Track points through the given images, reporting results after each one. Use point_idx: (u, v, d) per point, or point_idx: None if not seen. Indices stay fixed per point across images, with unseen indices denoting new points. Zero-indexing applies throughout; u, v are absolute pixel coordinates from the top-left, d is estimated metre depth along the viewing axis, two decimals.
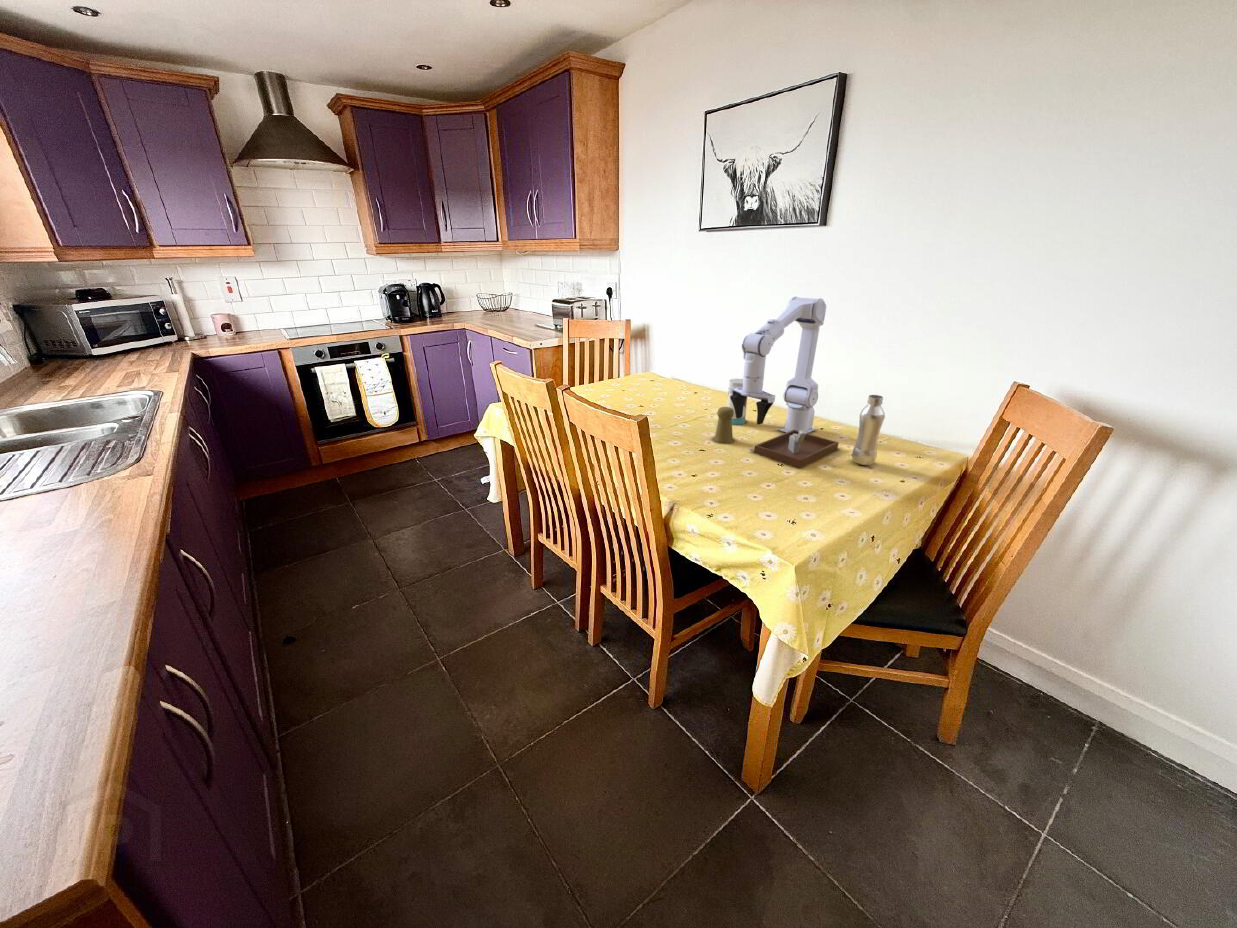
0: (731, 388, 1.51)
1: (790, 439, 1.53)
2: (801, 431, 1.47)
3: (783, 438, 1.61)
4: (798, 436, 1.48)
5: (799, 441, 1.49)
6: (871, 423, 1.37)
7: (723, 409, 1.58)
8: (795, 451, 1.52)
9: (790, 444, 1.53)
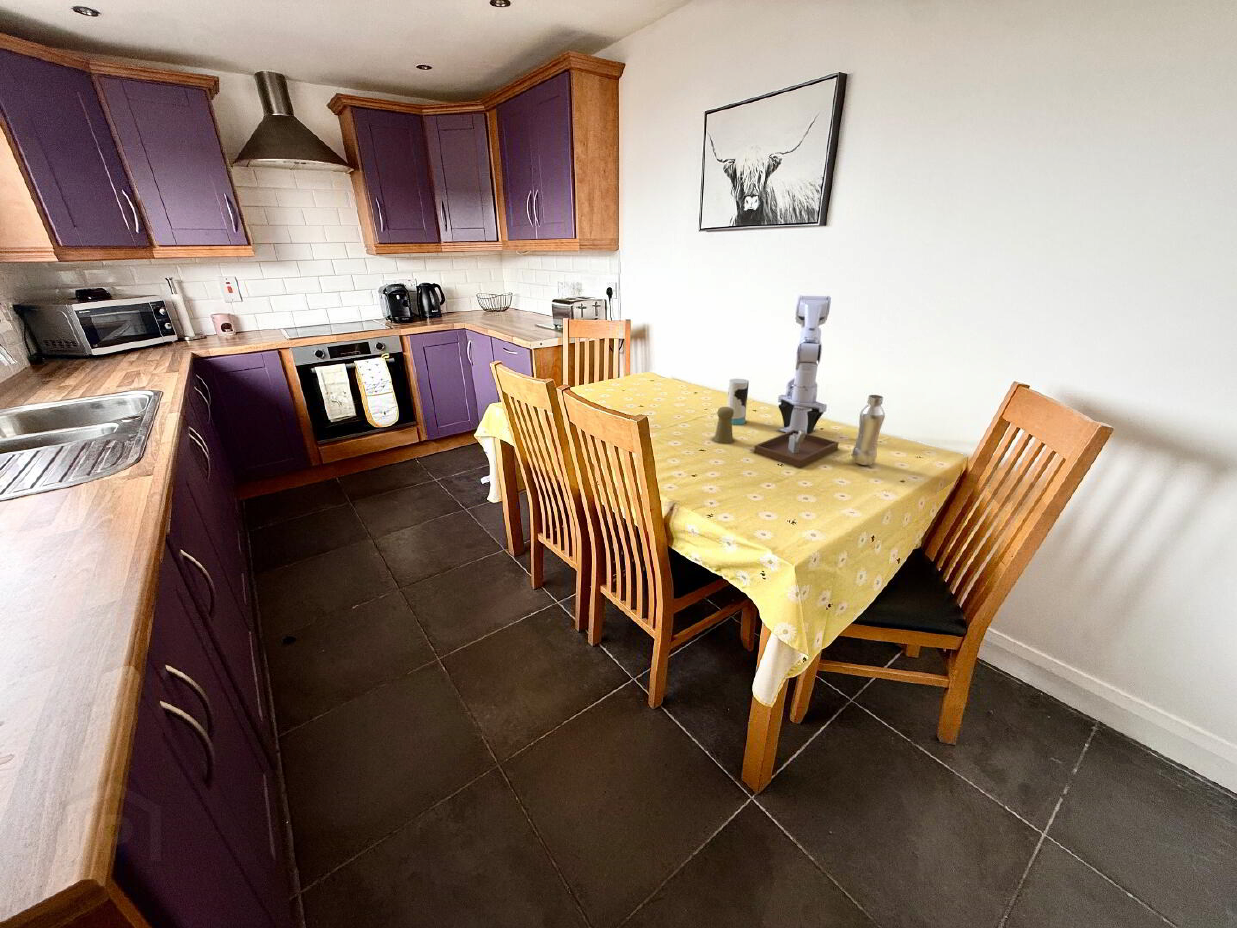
0: (779, 397, 1.50)
1: (790, 439, 1.53)
2: (801, 431, 1.47)
3: (783, 438, 1.61)
4: (798, 436, 1.48)
5: (799, 441, 1.49)
6: (871, 423, 1.37)
7: (723, 409, 1.58)
8: (795, 451, 1.52)
9: (790, 444, 1.53)
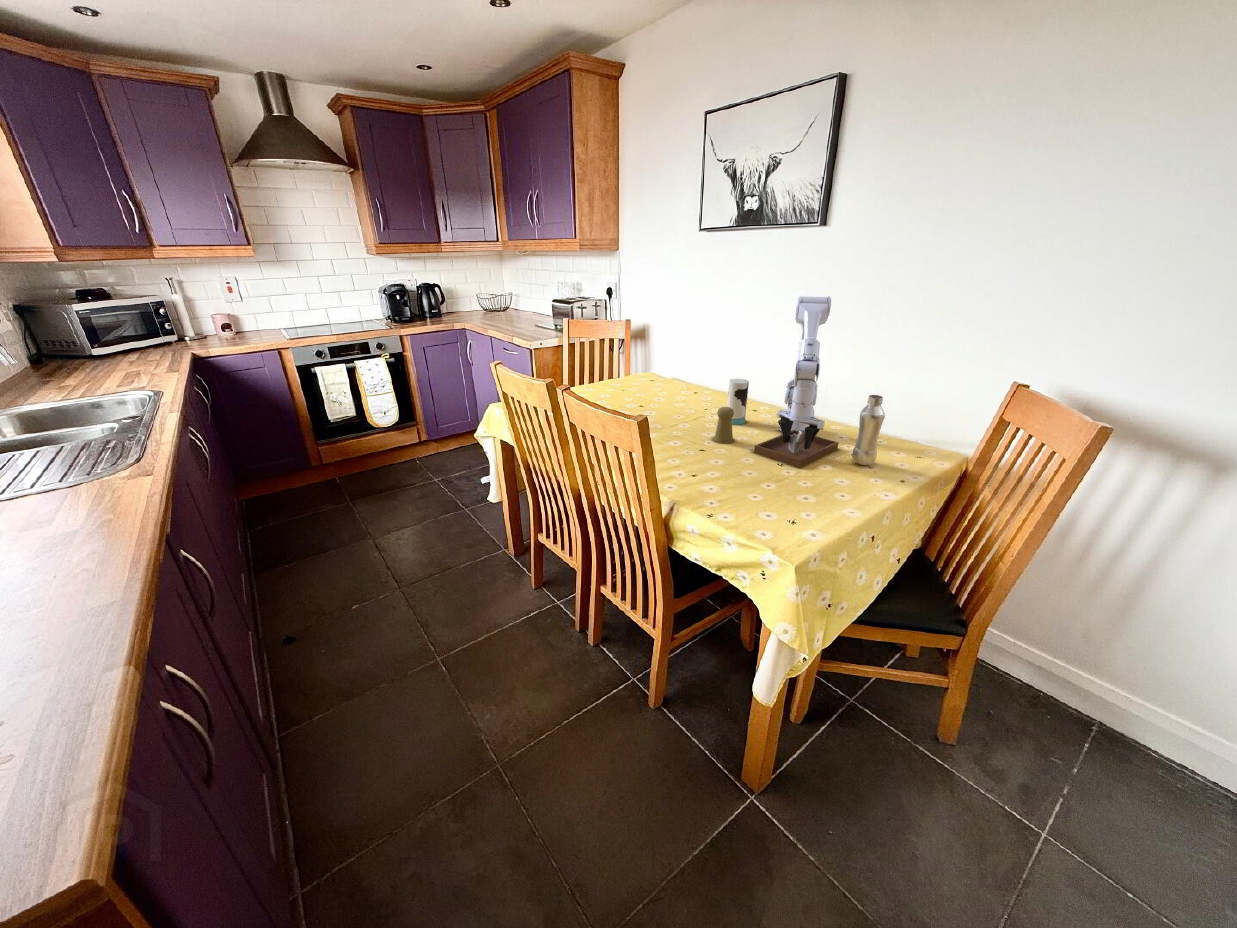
0: (778, 412, 1.52)
1: (790, 439, 1.53)
2: (801, 431, 1.47)
3: None
4: (798, 436, 1.48)
5: (799, 441, 1.49)
6: (871, 423, 1.37)
7: (723, 409, 1.58)
8: (795, 451, 1.52)
9: (790, 444, 1.53)
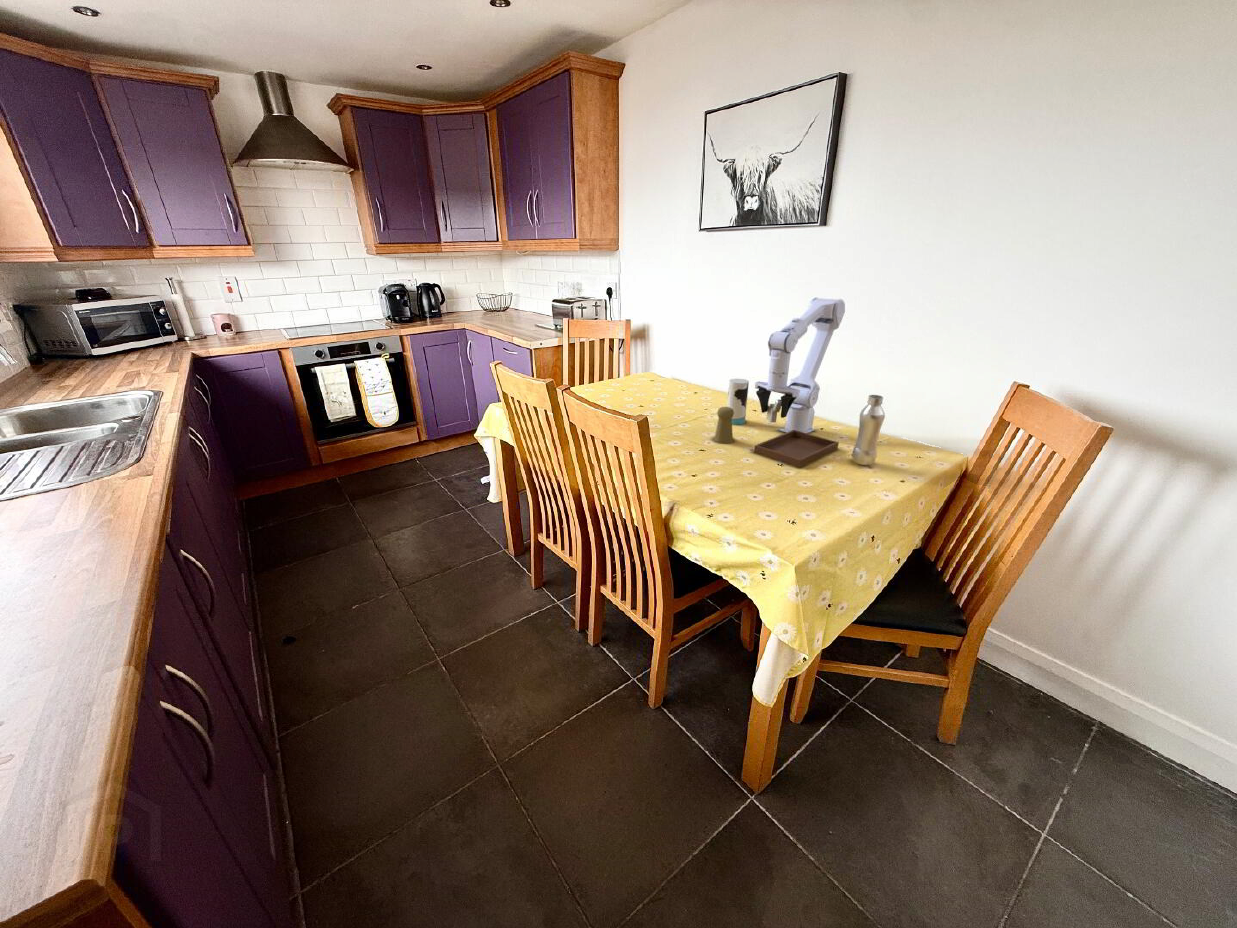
0: (756, 383, 1.58)
1: (768, 409, 1.60)
2: (778, 400, 1.53)
3: (783, 438, 1.61)
4: (775, 405, 1.54)
5: (776, 410, 1.55)
6: (871, 423, 1.37)
7: (723, 409, 1.58)
8: (772, 420, 1.58)
9: (768, 414, 1.60)
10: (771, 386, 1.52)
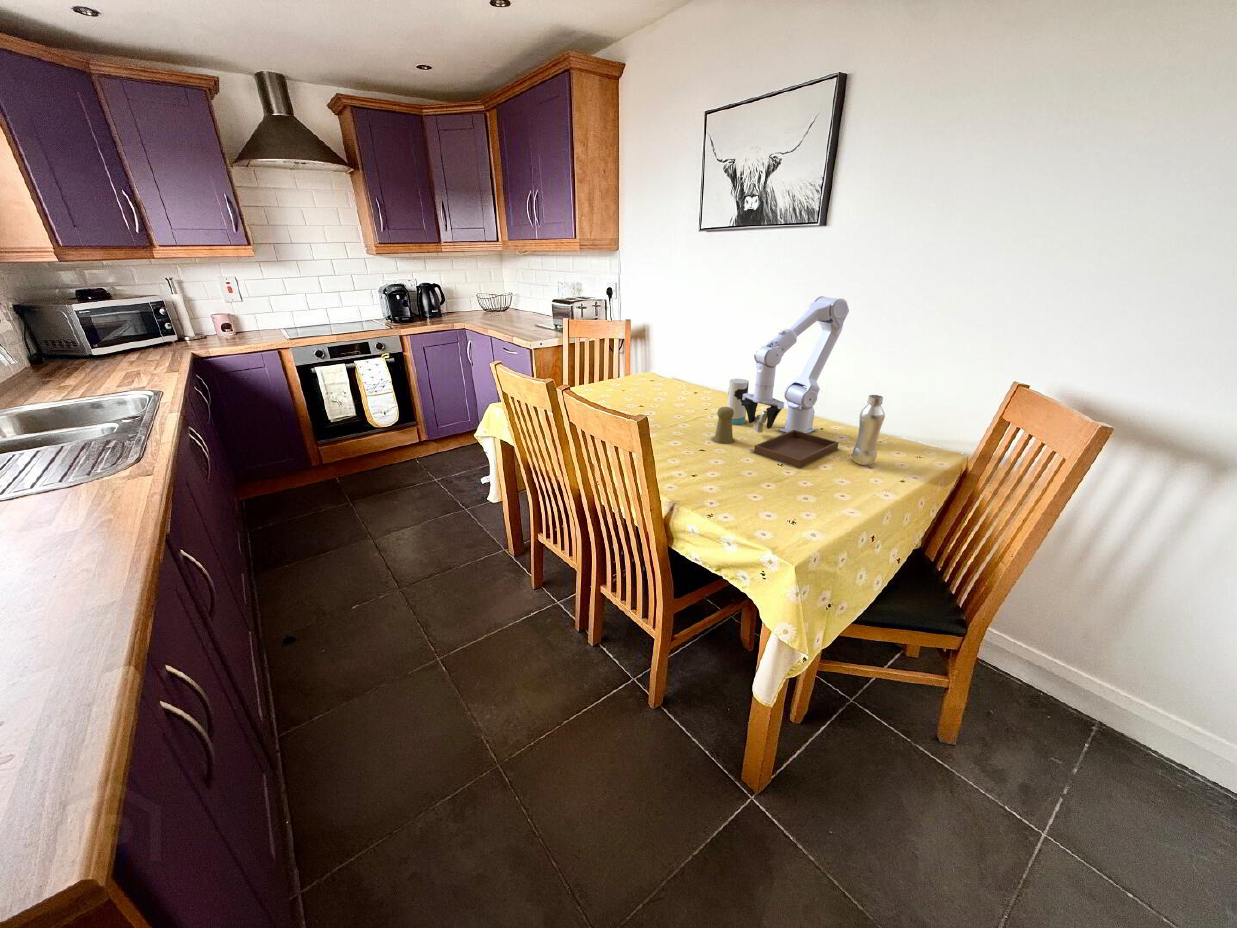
0: (743, 395, 1.65)
1: (755, 420, 1.66)
2: (763, 412, 1.60)
3: (783, 438, 1.61)
4: (761, 416, 1.61)
5: (762, 421, 1.62)
6: (871, 423, 1.37)
7: (723, 409, 1.58)
8: (759, 431, 1.65)
9: (755, 424, 1.66)
10: (757, 398, 1.59)
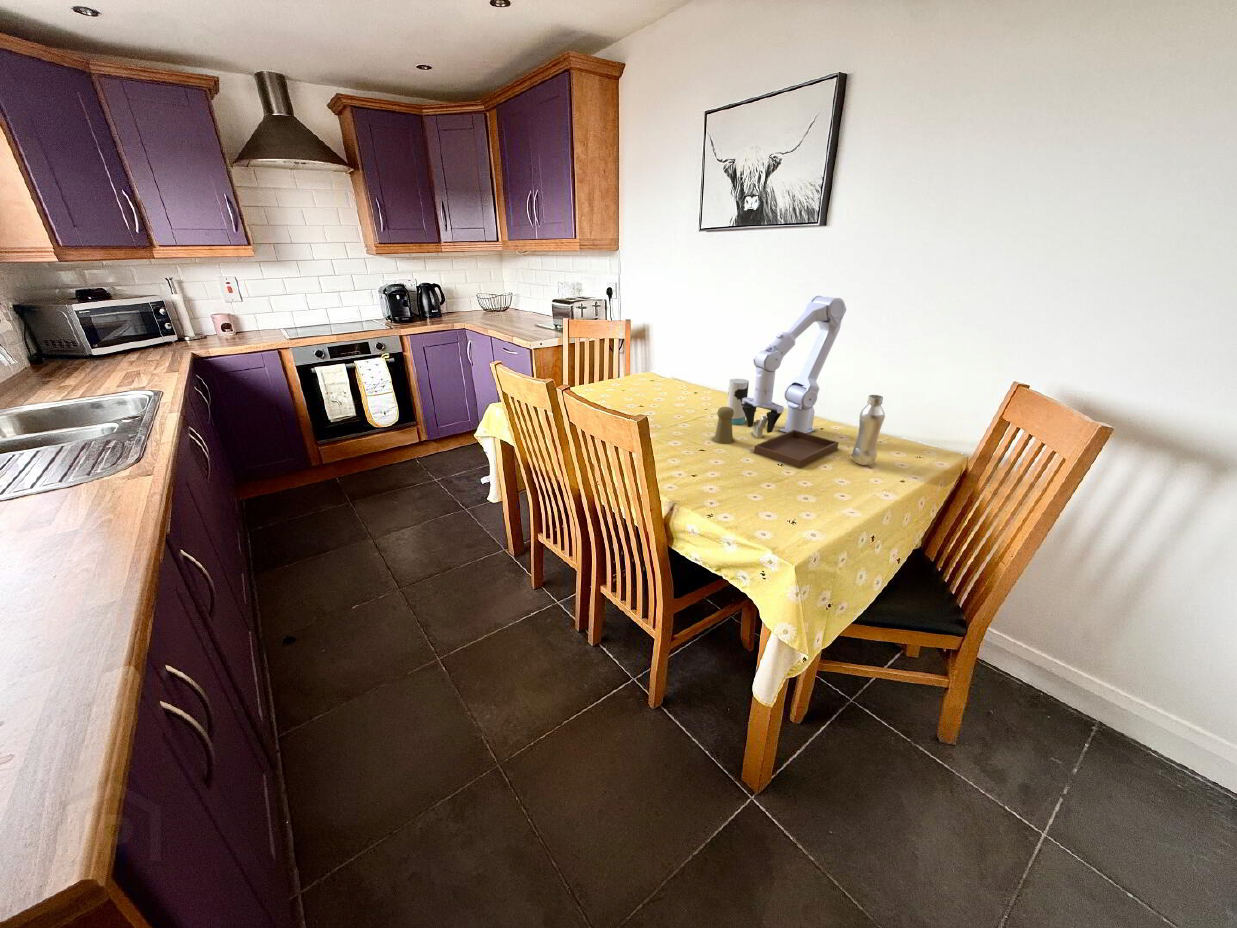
0: (743, 399, 1.66)
1: (754, 425, 1.67)
2: (763, 417, 1.60)
3: (783, 438, 1.61)
4: (760, 422, 1.61)
5: (761, 426, 1.62)
6: (871, 423, 1.37)
7: (723, 409, 1.58)
8: (758, 436, 1.65)
9: (754, 429, 1.67)
10: (757, 402, 1.60)
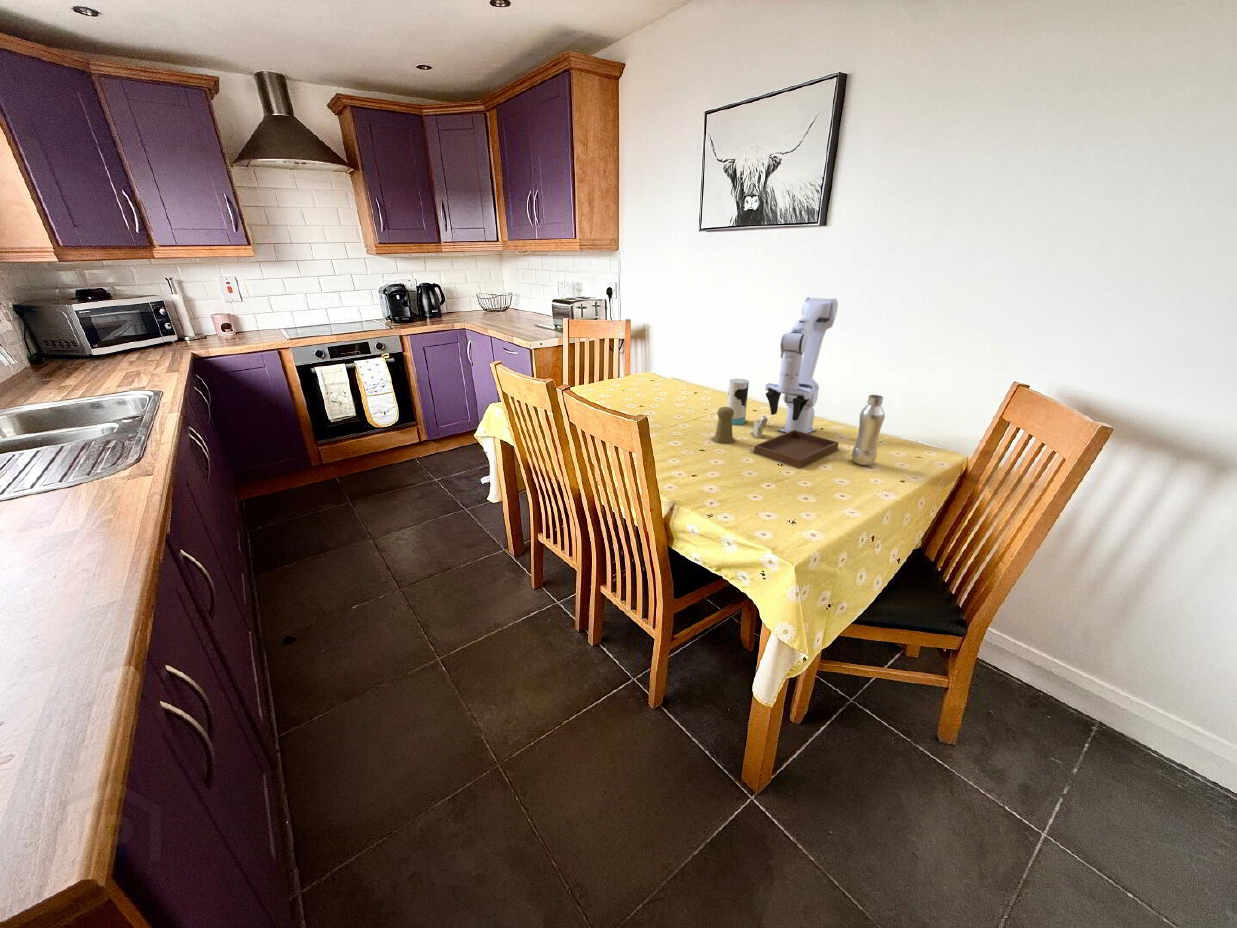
0: (767, 385, 1.56)
1: (754, 425, 1.67)
2: (763, 417, 1.60)
3: (783, 438, 1.61)
4: (760, 422, 1.61)
5: (761, 426, 1.62)
6: (871, 423, 1.37)
7: (723, 409, 1.58)
8: (758, 436, 1.65)
9: (754, 429, 1.67)
10: (782, 388, 1.50)
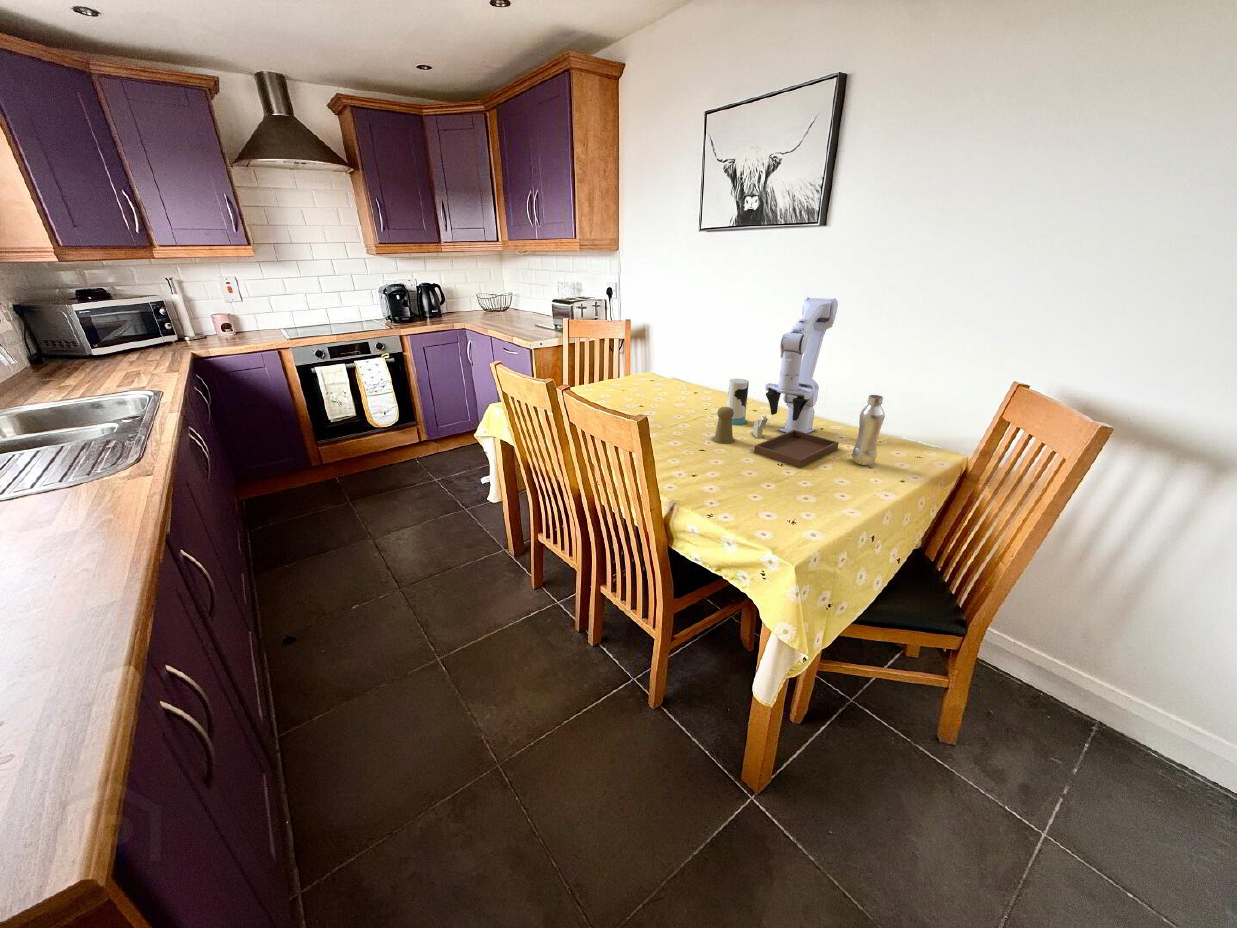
0: (767, 385, 1.56)
1: (754, 425, 1.67)
2: (763, 417, 1.60)
3: (783, 438, 1.61)
4: (760, 422, 1.61)
5: (761, 426, 1.62)
6: (871, 423, 1.37)
7: (723, 409, 1.58)
8: (758, 436, 1.65)
9: (754, 429, 1.67)
10: (782, 388, 1.50)
